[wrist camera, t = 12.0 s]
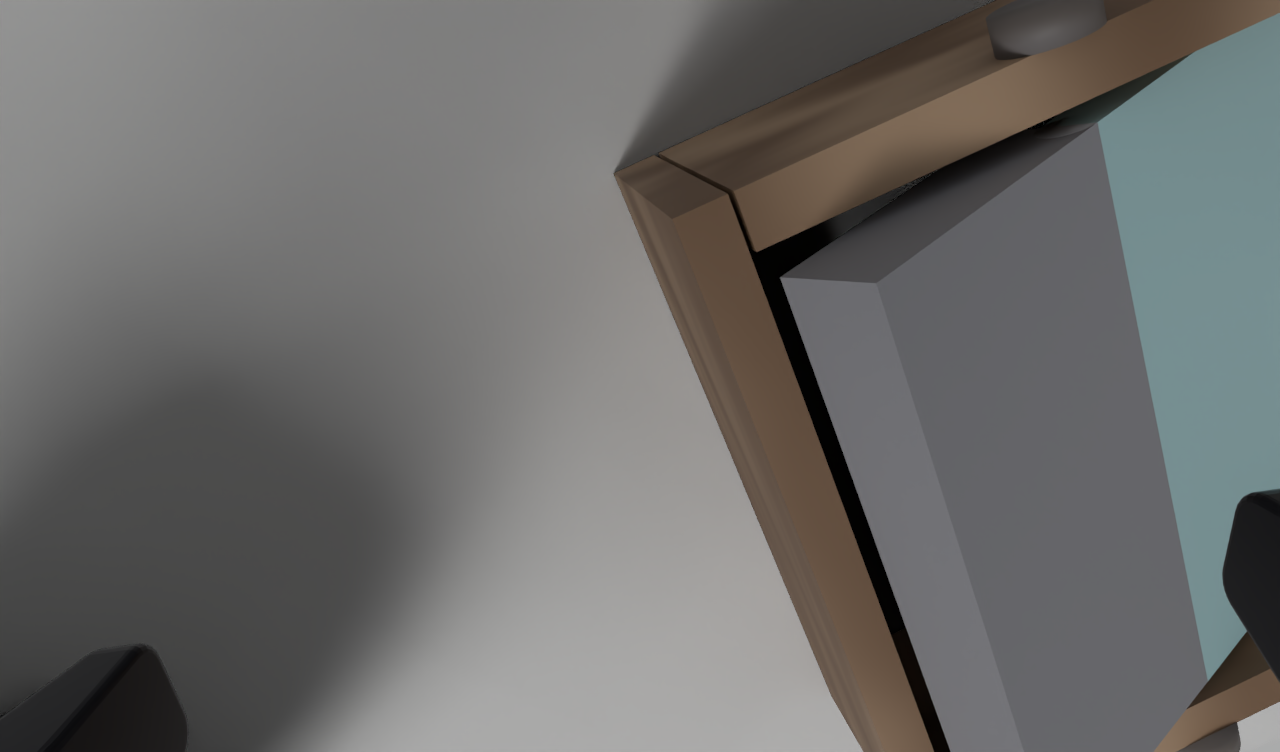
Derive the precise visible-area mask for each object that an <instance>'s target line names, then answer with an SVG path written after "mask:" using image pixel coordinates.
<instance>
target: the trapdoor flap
mask: <svg viewBox="0 0 1280 752" xmlns="http://www.w3.org/2000/svg"><path fill="white" fill-rule="evenodd" d="M780 279H781V282H782V285H783V287H784V290H785V293H786V296H787V298H788V301H789V304H790V307H791V310H792V312H793V315H794V318H795V321H796V323H797V326H798V329H799V332H800V335H801V337H802V340H803V343H804V346H805V348H806V351H807V354H808V357H809V360H810V362H811V365H812V368H813V371H814V373H815V376H816V379H817V382H818V385H819V387H820V390H821V393H822V396H823V399H824V401H825V404H826V407H827V410H828V412H829V415H830V418H831V421H832V424H833V426H834V429H835V432H836V435H837V437H838V440H839V443H840V446H841V449H842V451H843V454H844V457H845V460H846V462H847V465H848V468H849V471H850V474H851V476H852V479H853V482H854V485H855V487H856V490H857V493H858V496H859V499H860V501H861V504H862V507H863V510H864V512H865V515H866V518H867V521H868V524H869V526H870V529H871V532H872V535H873V538H874V540H875V543H876V546H877V549H878V551H879V554H880V557H881V560H882V563H883V565H884V568H885V571H886V574H887V576H888V579H889V582H890V585H891V588H892V590H893V593H894V596H895V599H896V601H897V604H898V607H899V610H900V613H901V615H902V618H903V621H904V624H905V626H906V629H907V632H908V635H909V638H910V640H911V643H912V646H913V649H914V652H915V654H916V657H917V660H918V663H919V665H920V668H921V671H922V674H923V677H924V679H925V682H926V685H927V688H928V690H929V693H930V696H931V699H932V702H933V704H934V707H935V710H936V713H937V715H938V718H939V721H940V724H941V727H942V729H943V732H944V735H945V738H946V740H947V743H948V746H949V749H950V752H1154V750H1155V749H1156V748H1157V747H1158V745H1159V744H1160V743H1161V741H1162V740H1163V739H1164V738H1165V736H1166V735H1167V734H1168V732H1169V731H1170V730H1171V729H1172V727H1173V726H1174V725H1175V723H1176V722H1177V721H1178V719H1179V718H1180V717H1181V716H1182V714H1183V713H1184V712H1185V710H1186V709H1187V708H1188V707H1189V705H1190V704H1191V703H1192V701H1193V700H1194V699H1195V698H1196V696H1197V695H1198V694H1199V692H1200V691H1201V690H1202V689H1203V687H1204V686H1205V685H1206V683H1207V682H1208V681H1209V679H1210V678H1211V677H1212V676H1213V674H1214V673H1215V672H1216V670H1217V669H1218V668H1219V667H1220V665H1221V664H1222V663H1223V661H1224V660H1225V659H1226V658H1227V656H1228V655H1229V654H1230V652H1231V651H1232V650H1233V649H1234V647H1235V646H1236V645H1237V643H1238V642H1239V641H1240V639H1241V638H1242V637H1243V636H1244V634H1245V633H1246V632H1247V630H1246V628H1245V627H1244V625H1243V624H1242V622H1241V620H1240V619H1239V617H1238V616H1237V614H1236V612H1235V611H1234V609H1233V608H1232V606H1231V604H1230V602H1229V600H1228V598H1227V596H1226V593H1225V591H1224V586H1223V579H1222V570H1223V565H1224V560H1225V555H1226V551H1227V546H1228V542H1229V537H1230V532H1231V528H1232V523H1233V519H1234V514H1235V510H1236V507H1237V504H1238V503H1239V502H1240V500H1241V499H1242V498H1243V497H1244V496H1245V495H1247V494H1249V493H1252V492H1258V491H1265V490H1272V489H1279V488H1280V13H1278V14H1276V15H1274V16H1272V17H1269V18H1267V19H1265V20H1263V21H1261V22H1258V23H1256V24H1254V25H1252V26H1250V27H1248V28H1245V29H1243V30H1241V31H1239V32H1237V33H1234V34H1232V35H1230V36H1228V37H1226V38H1224V39H1221V40H1219V41H1217V42H1215V43H1213V44H1210V45H1208V46H1206V47H1204V48H1202V49H1200V50H1197V51H1195V52H1193V53H1191V54H1189V55H1186V56H1184V57H1182V58H1180V59H1178V60H1175V61H1173V62H1171V63H1169V64H1167V65H1165V66H1162V67H1160V68H1158V69H1156V70H1154V71H1151V72H1149V73H1147V74H1145V75H1143V76H1141V77H1138V78H1136V79H1134V80H1132V81H1130V82H1127V83H1125V84H1123V85H1121V86H1119V87H1116V88H1114V89H1112V90H1110V91H1108V92H1106V93H1103V94H1101V95H1099V96H1097V97H1095V98H1092V99H1090V100H1088V101H1086V102H1084V103H1082V104H1079V105H1077V106H1075V107H1073V108H1071V109H1068V110H1066V111H1064V112H1062V113H1061V114H1059V115H1058V116H1056V117H1055V118H1054V119H1052V120H1051V121H1049V122H1048V123H1046V124H1045V125H1044V126H1042V127H1041V128H1039V129H1030V130H1023V131H1020V132H1018V133H1016V134H1014V135H1012V136H1009V137H1007V138H1005V139H1003V140H1001V141H999V142H996V143H994V144H992V145H990V146H988V147H985V148H983V149H981V150H979V151H977V152H974V153H972V154H970V155H968V156H966V157H964V158H961V159H959V160H957V161H955V162H953V163H950V164H948V165H946V166H944V167H942V168H940V169H939V170H937V171H936V172H934V173H933V174H931V175H930V176H929V177H927V178H926V179H924V180H923V181H921V182H920V183H918V184H917V185H915V186H914V187H912V188H911V189H909V190H908V191H906V192H905V193H903V194H902V195H901V196H899V197H898V198H896V199H895V200H893V201H892V202H890V203H889V204H887V205H886V206H884V207H883V208H881V209H880V210H878V211H877V212H875V213H874V214H873V215H871V216H870V217H868V218H867V219H865V220H864V221H862V222H861V223H859V224H858V225H856V226H855V227H853V228H852V229H850V230H849V231H847V232H846V233H845V234H843V235H842V236H840V237H839V238H837V239H836V240H834V241H833V242H831V243H830V244H828V245H827V246H825V247H824V248H822V249H821V250H819V251H818V252H817V253H815V254H814V255H812V256H811V257H809V258H808V259H806V260H805V261H803V262H802V263H800V264H799V265H797V266H796V267H794V268H793V269H791V270H790V271H789V272H787V273H786V274H784V275H783V276H781V277H780Z"/></svg>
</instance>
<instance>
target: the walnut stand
mask: <svg viewBox="0 0 1280 752" xmlns="http://www.w3.org/2000/svg"><path fill="white" fill-rule="evenodd" d="M1278 13H1280V0H996V1H993V2H991V3H989V4H987V5H985V6H982V7H980V8H978V9H976V10H973V11H971V12H969V13H967V14H965V15H962V16H960V17H958V18H956V19H954V20H951V21H949V22H947V23H945V24H943V25H940V26H938V27H936V28H934V29H931V30H929V31H927V32H925V33H923V34H920V35H918V36H916V37H914V38H912V39H909V40H907V41H905V42H903V43H901V44H898V45H896V46H894V47H892V48H889V49H887V50H885V51H883V52H881V53H878V54H876V55H874V56H872V57H870V58H867V59H865V60H863V61H861V62H859V63H856V64H854V65H852V66H850V67H847V68H845V69H843V70H841V71H839V72H836V73H834V74H832V75H830V76H828V77H825V78H823V79H821V80H819V81H817V82H814V83H812V84H810V85H808V86H805V87H803V88H801V89H799V90H797V91H794V92H792V93H790V94H788V95H786V96H783V97H781V98H779V99H777V100H775V101H772V102H770V103H768V104H766V105H763V106H761V107H759V108H757V109H755V110H752V111H750V112H748V113H746V114H744V115H741V116H739V117H737V118H735V119H733V120H730V121H728V122H726V123H724V124H721V125H719V126H717V127H715V128H713V129H710V130H708V131H706V132H704V133H702V134H699V135H697V136H695V137H693V138H691V139H688V140H686V141H684V142H682V143H679V144H677V145H675V146H673V147H671V148H668V149H666V150H664V151H662V152H660V153H659V156H660V158H661V159H660V158H659V157H657V156H655V155H653V156H651V157H649V158H646V159H644V160H642V161H640V162H637V163H635V164H633V165H631V166H629V167H626V168H624V169H622V170H620V171H618V172H615V173H614V176H615V178H616V180H617V183H618V185H619V188H620V190H621V192H622V195H623V197H624V200H625V202H626V204H627V207H628V209H629V212H630V214H631V216H632V219H633V221H634V224H635V226H636V228H637V231H638V233H639V236H640V238H641V240H642V243H643V245H644V248H645V250H646V252H647V255H648V257H649V260H650V262H651V264H652V267H653V269H654V272H655V274H656V276H657V279H658V281H659V284H660V286H661V288H662V291H663V293H664V296H665V298H666V300H667V303H668V305H669V308H670V310H671V312H672V315H673V317H674V320H675V322H676V324H677V327H678V329H679V332H680V334H681V336H682V339H683V341H684V344H685V346H686V348H687V351H688V353H689V356H690V358H691V360H692V363H693V365H694V368H695V370H696V372H697V375H698V377H699V380H700V382H701V384H702V387H703V389H704V391H705V394H706V396H707V399H708V401H709V403H710V406H711V408H712V411H713V413H714V415H715V418H716V420H717V423H718V425H719V427H720V430H721V432H722V435H723V437H724V439H725V442H726V444H727V447H728V449H729V451H730V454H731V456H732V459H733V461H734V463H735V466H736V468H737V471H738V473H739V475H740V478H741V480H742V483H743V485H744V487H745V490H746V492H747V495H748V497H749V499H750V502H751V504H752V507H753V509H754V511H755V514H756V516H757V519H758V521H759V523H760V526H761V528H762V531H763V533H764V535H765V538H766V540H767V543H768V545H769V547H770V550H771V552H772V555H773V557H774V559H775V562H776V564H777V567H778V569H779V571H780V574H781V576H782V579H783V581H784V583H785V586H786V588H787V591H788V593H789V595H790V598H791V600H792V603H793V605H794V607H795V610H796V612H797V615H798V617H799V619H800V622H801V624H802V626H803V629H804V631H805V634H806V636H807V638H808V641H809V643H810V646H811V648H812V650H813V653H814V655H815V658H816V660H817V662H818V665H819V667H820V670H821V672H822V674H823V677H824V679H825V682H826V684H827V686H828V689H829V691H830V694H831V696H832V698H833V699H834V701H835V703H836V705H837V706H838V708H839V710H840V712H841V713H842V715H843V717H844V719H845V720H846V722H847V724H848V725H849V727H850V729H851V731H852V732H853V734H854V736H855V738H856V739H857V741H858V743H859V745H860V746H861V748H862V750H863V751H864V752H950V749H949V746H948V743H947V740H946V738H945V735H944V732H943V729H942V727H941V724H940V721H939V718H938V715H937V713H936V710H935V707H934V704H933V702H932V699H931V696H930V693H929V690H928V688H927V685H926V682H925V679H924V677H923V674H922V671H921V668H920V665H919V663H918V660H917V657H916V654H915V652H914V649H913V646H912V643H911V640H910V638H909V635H908V632H907V629H906V628H904V629H902V630H900V631H898V632H896V633H894V634H890V631H889V628H888V626H887V623H886V620H885V618H884V615H883V612H882V609H881V607H880V604H879V601H878V599H877V596H876V593H875V591H874V588H873V585H872V582H871V580H870V577H869V574H868V572H867V569H866V566H865V563H864V561H863V558H862V555H861V553H860V550H859V547H858V545H857V542H856V539H855V536H854V534H853V531H852V528H851V526H850V523H849V520H848V517H847V515H846V512H845V509H844V507H843V504H842V501H841V499H840V496H839V493H838V490H837V488H836V485H835V482H834V480H833V477H832V474H831V471H830V469H829V466H828V463H827V461H826V458H825V455H824V453H823V450H822V447H821V444H820V442H819V439H818V436H817V434H816V431H815V428H814V425H813V423H812V420H811V417H810V415H809V412H808V409H807V407H806V404H805V401H804V398H803V396H802V393H801V390H800V388H799V385H798V382H797V379H796V377H795V374H794V371H793V369H792V366H791V363H790V361H789V358H788V355H787V352H786V350H785V347H784V344H783V342H782V339H781V336H780V333H779V331H778V328H777V325H776V323H775V320H774V317H773V315H772V312H771V309H770V306H769V304H768V301H767V298H766V296H765V293H764V290H763V287H762V285H761V282H760V279H759V277H758V274H757V271H756V269H755V266H754V263H753V260H752V258H751V255H750V252H749V250H748V247H749V248H751V249H752V250H754V251H755V252H758V251H760V250H763V249H765V248H767V247H769V246H771V245H774V244H776V243H778V242H780V241H782V240H784V239H787V238H789V237H791V236H793V235H795V234H798V233H800V232H802V231H804V230H806V229H808V228H811V227H813V226H815V225H817V224H819V223H822V222H824V221H826V220H828V219H830V218H832V217H835V216H837V215H839V214H841V213H843V212H846V211H848V210H850V209H852V208H854V207H857V206H859V205H861V204H863V203H865V202H867V201H870V200H872V199H874V198H876V197H878V196H881V195H883V194H885V193H887V192H889V191H891V190H894V189H896V188H898V187H900V186H902V185H905V184H907V183H909V182H911V181H913V180H916V179H918V178H920V177H922V176H924V175H926V174H929V173H931V172H933V171H935V170H937V169H940V168H942V167H944V166H946V165H948V164H950V163H953V162H955V161H957V160H959V159H961V158H964V157H966V156H968V155H970V154H972V153H974V152H977V151H979V150H981V149H983V148H985V147H988V146H990V145H992V144H994V143H996V142H999V141H1001V140H1003V139H1005V138H1007V137H1009V136H1012V135H1014V134H1016V133H1018V132H1020V131H1023V130H1025V129H1027V128H1029V127H1031V126H1033V125H1036V124H1038V123H1040V122H1042V121H1044V120H1047V119H1049V118H1051V117H1053V116H1055V115H1058V114H1060V113H1062V112H1064V111H1066V110H1068V109H1071V108H1073V107H1075V106H1077V105H1079V104H1082V103H1084V102H1086V101H1088V100H1090V99H1092V98H1095V97H1097V96H1099V95H1101V94H1103V93H1106V92H1108V91H1110V90H1112V89H1114V88H1116V87H1119V86H1121V85H1123V84H1125V83H1127V82H1130V81H1132V80H1134V79H1136V78H1138V77H1141V76H1143V75H1145V74H1147V73H1149V72H1151V71H1154V70H1156V69H1158V68H1160V67H1162V66H1165V65H1167V64H1169V63H1171V62H1173V61H1175V60H1178V59H1180V58H1182V57H1184V56H1186V55H1189V54H1191V53H1193V52H1195V51H1197V50H1200V49H1202V48H1204V47H1206V46H1208V45H1210V44H1213V43H1215V42H1217V41H1219V40H1221V39H1224V38H1226V37H1228V36H1230V35H1232V34H1234V33H1237V32H1239V31H1241V30H1243V29H1245V28H1248V27H1250V26H1252V25H1254V24H1256V23H1258V22H1261V21H1263V20H1265V19H1267V18H1269V17H1272V16H1274V15H1276V14H1278ZM747 246H748V247H747ZM1278 702H1280V683H1279V681H1278V680H1277V678H1276V676H1275V675H1274V673H1273V672H1272V670H1271V668H1270V667H1269V665H1268V664H1267V662H1266V660H1265V659H1264V657H1263V656H1262V654H1261V652H1260V651H1259V649H1258V648H1257V646H1256V644H1255V643H1254V641H1253V640H1252V638H1251V636H1250V635H1249V633H1248V632H1246V633H1245V634H1244V636H1243V637H1242V638H1241V639H1240V641H1239V642H1238V643H1237V645H1236V646H1235V647H1234V649H1233V650H1232V651H1231V652H1230V654H1229V655H1228V656H1227V658H1226V659H1225V660H1224V661H1223V663H1222V664H1221V665H1220V667H1219V668H1218V669H1217V670H1216V672H1215V673H1214V674H1213V676H1212V677H1211V678H1210V679H1209V681H1208V682H1207V683H1206V685H1205V686H1204V687H1203V689H1202V690H1201V691H1200V692H1199V694H1198V695H1197V696H1196V698H1195V699H1194V700H1193V701H1192V703H1191V704H1190V705H1189V707H1188V708H1187V709H1186V710H1185V712H1184V713H1183V714H1182V716H1181V717H1180V718H1179V719H1178V721H1177V722H1176V723H1175V725H1174V726H1173V727H1172V729H1171V730H1170V731H1169V732H1168V734H1167V735H1166V736H1165V738H1164V739H1163V740H1162V741H1161V743H1160V744H1159V745H1158V747H1157V748H1156V749H1155V750H1154V752H1239V750H1240V746H1241V742H1240V736H1239V731H1238V725H1237V722H1238V721H1241V720H1243V719H1245V718H1247V717H1249V716H1251V715H1253V714H1255V713H1257V712H1259V711H1261V710H1263V709H1265V708H1267V707H1269V706H1271V705H1274V704H1276V703H1278Z"/></svg>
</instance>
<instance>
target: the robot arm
mask: <svg viewBox="0 0 1280 752" xmlns="http://www.w3.org/2000/svg"><path fill="white" fill-rule="evenodd" d="M1222 579H1223V586H1224V591H1225V593H1226V596H1227V598H1228V600H1229V602H1230V604H1231V606H1232V608H1233V609H1234V611H1235V612H1236V614H1237V616H1238V617H1239V619H1240V620H1241V622H1242V624H1243V625H1244V627H1245V628H1246V630H1247V632H1248V633H1249V635H1250V636H1251V638H1252V640H1253V641H1254V643H1255V644H1256V646H1257V648H1258V649H1259V651H1260V652H1261V654H1262V656H1263V657H1264V659H1265V660H1266V662H1267V664H1268V665H1269V667H1270V668H1271V670H1272V672H1273V673H1274V675H1275V676H1276V678H1277V680H1278V681H1279V683H1280V488H1279V489H1272V490H1265V491H1258V492H1252V493H1249V494H1247V495H1245V496H1244V497H1243V498H1242V499H1241V500H1240V502H1239V503H1238V504H1237V507H1236V510H1235V514H1234V519H1233V523H1232V528H1231V532H1230V537H1229V542H1228V546H1227V551H1226V555H1225V560H1224V565H1223V570H1222ZM188 735H189V731H188V721H187V717H186V714H185V711H184V709H183V706H182V704H181V702H180V700H179V698H178V696H177V693H176V691H175V689H174V687H173V685H172V683H171V680H170V678H169V676H168V674H167V672H166V670H165V667H164V665H163V663H162V661H161V659H160V657H159V655H158V654H157V652H156V651H155V650H154V649H153V648H152V647H150V646H149V645H145V644H133V645H125V646H118V647H111V648H104V649H99V650H96V651H94V652H91V653H90V654H88V655H87V656H85V657H84V658H83V659H81V660H80V661H78V662H77V663H76V664H74V665H73V666H72V667H70V668H69V669H67V670H66V671H65V672H63V673H62V674H61V675H59V676H58V677H56V678H55V679H54V680H52V681H51V682H50V683H48V684H47V685H45V686H44V687H43V688H41V689H40V690H39V691H37V692H36V693H34V694H33V695H32V696H30V697H29V698H28V699H26V700H25V701H24V702H22V703H21V704H19V705H18V706H17V707H15V708H14V709H13V710H11V711H10V712H8V713H7V714H4V715H2V716H0V752H186V750H187V745H188Z"/></svg>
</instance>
